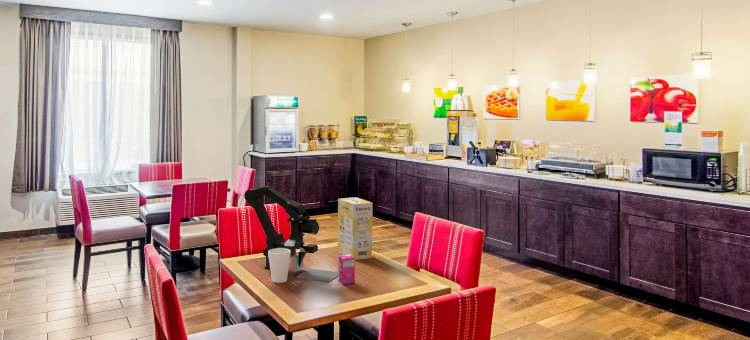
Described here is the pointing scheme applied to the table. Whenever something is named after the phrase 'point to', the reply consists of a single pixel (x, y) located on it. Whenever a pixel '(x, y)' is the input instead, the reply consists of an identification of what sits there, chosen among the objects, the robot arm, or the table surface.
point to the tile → (295, 262)
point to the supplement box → (346, 269)
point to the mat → (318, 275)
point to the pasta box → (355, 227)
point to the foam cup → (279, 264)
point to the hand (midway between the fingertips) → (296, 265)
